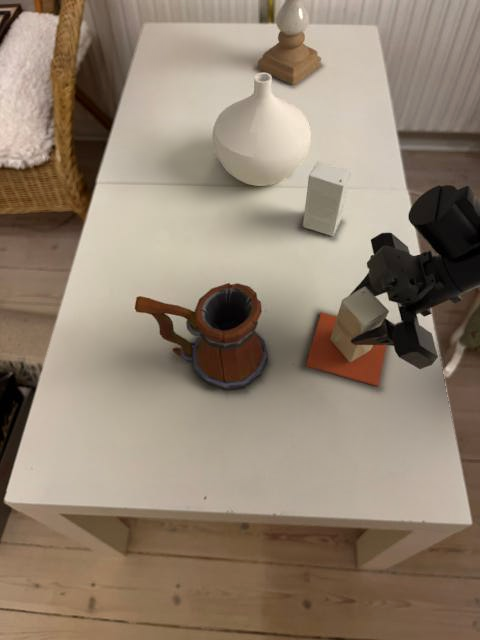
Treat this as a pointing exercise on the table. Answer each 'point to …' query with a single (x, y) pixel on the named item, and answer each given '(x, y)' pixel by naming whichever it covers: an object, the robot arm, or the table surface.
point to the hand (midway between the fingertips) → (349, 322)
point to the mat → (335, 362)
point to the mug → (217, 334)
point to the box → (357, 322)
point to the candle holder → (290, 46)
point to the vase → (261, 136)
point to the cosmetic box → (325, 197)
